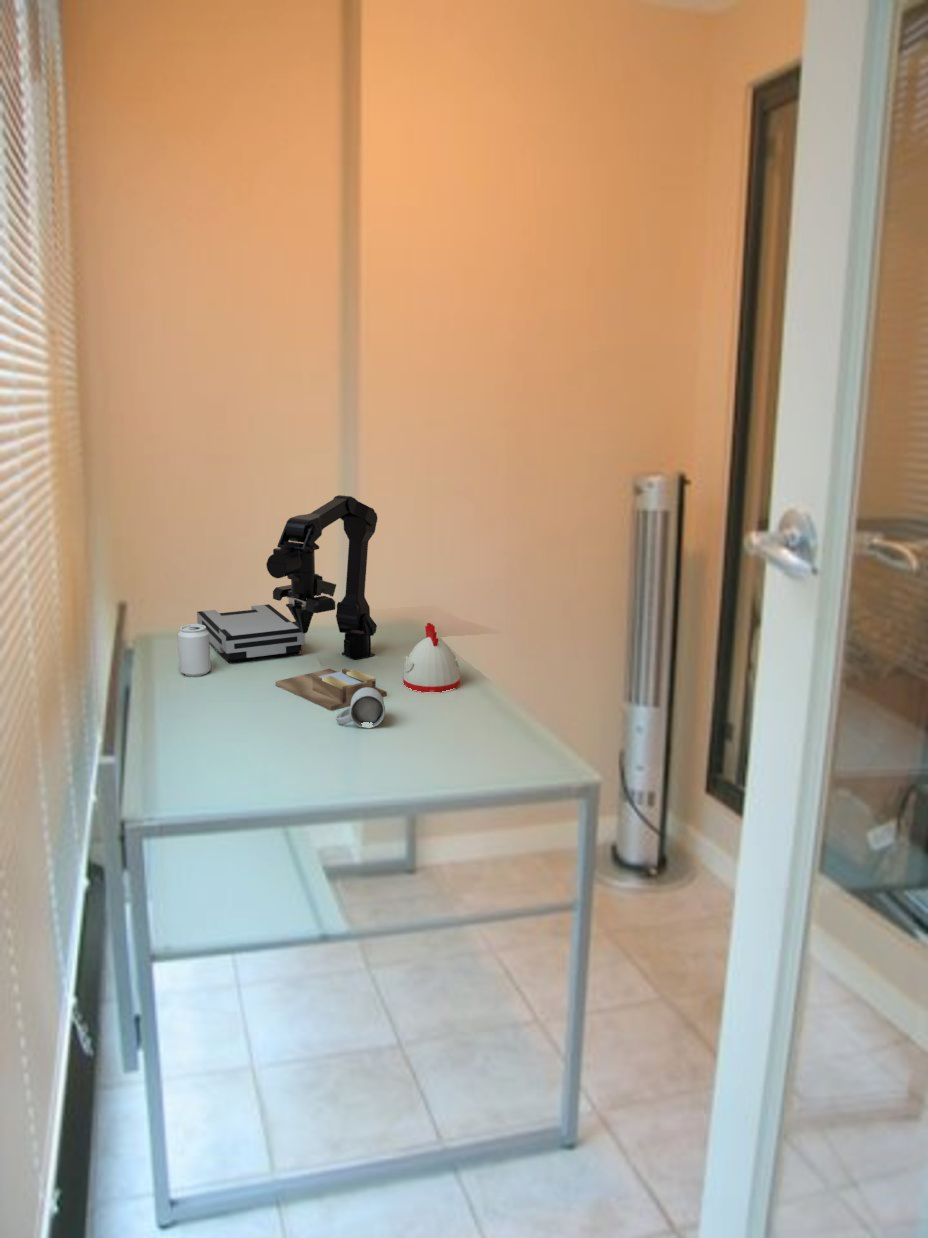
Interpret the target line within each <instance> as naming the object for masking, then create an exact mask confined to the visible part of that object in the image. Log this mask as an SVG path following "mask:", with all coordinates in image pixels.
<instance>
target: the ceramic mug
mask: <svg viewBox="0 0 928 1238" xmlns="http://www.w3.org/2000/svg"><path fill="white" fill-rule="evenodd" d="M385 715H386V706H385V702H384V698H383V697H382V696H381V694H380V693H379V692H378V691H377V690H375V689H373V688H370V687H366V688H361V689H359V690H358V691H357V692H356V693H355V694H354V695H353V697H352V699H351V705H350V706H348V707H346V709H343V710H342V711H340V712H339V713H338V714H337V715H336V716H335V719H336V722H337V724H338V725H345V724H348V723H353V724H354V725H355V726H356V727H358V728H361V727H362V724H361V723H363V722H369V723H370V722H372V723H373V724H372V725H373V728H375V726H376V727H378V726H379V725H380V724H382V721H383V720H384V719H385Z"/></svg>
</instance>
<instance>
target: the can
mask: <svg viewBox="0 0 928 1238" xmlns="http://www.w3.org/2000/svg"><path fill="white" fill-rule="evenodd" d="M177 643H178V660H179V661H178V663H179V671H180V673H182V674H183V675H184V674H185V675H184V676H186V677H201V676H204V675H206V674H208V673H209V672H210V671H211V669H212V667H211V666H212V665H211V649H210V647H211V644H210V643H209V632H208V631H207V630H206V626H204V625H201V624H198V623H192V624H191V623H190V624H185V625H182V626H180V627H179V632H178V633H177Z"/></svg>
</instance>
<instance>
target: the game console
mask: <svg viewBox="0 0 928 1238" xmlns="http://www.w3.org/2000/svg"><path fill="white" fill-rule="evenodd" d="M196 621H197V623H196V624H201V625H204V626H206V630H207V631H208V632H209V643H210V646H212V648H213V649H214V650H215V651H216V650H217V651H216V652H217V653H218V654H219V655H220V656H221V658H223V660H225V662H227V664H234V663H235V664H236V663H243V662H250V661H252V658H256V657H258V658H259V657H264V656H272V655H275V656H276V657H277V658H281V657H282V658H283V657H289V656H298V655H300V652H302V649H303V647H302V645H305V644H306V635H305V634H306V633H302V632H301V630H300V628H299V626H298V625H297V623H296V621H295V620H294V621H291V620H290V619H289V618H287V617H286V616H285V615H284V614H283V613H281V612H280V611H278V610H277V609H276V608H275V607H273V606H272V605H270V604H260V605H251V608H250V609H248V610H247V609H246V610H237V611H236V610H235V611H229V612H228V611H227V612H220V613H219V612H218V611H217V610H216V609H211V610H201V611H196Z"/></svg>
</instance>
